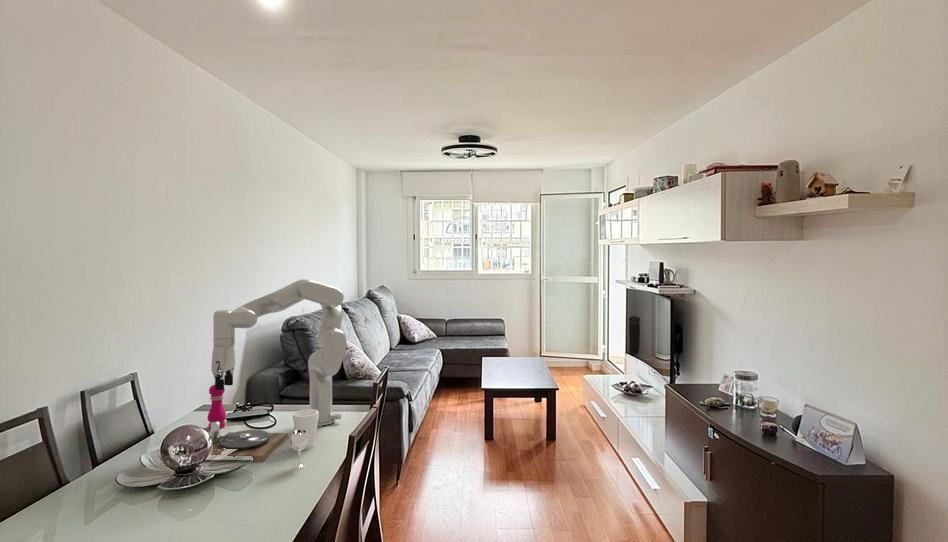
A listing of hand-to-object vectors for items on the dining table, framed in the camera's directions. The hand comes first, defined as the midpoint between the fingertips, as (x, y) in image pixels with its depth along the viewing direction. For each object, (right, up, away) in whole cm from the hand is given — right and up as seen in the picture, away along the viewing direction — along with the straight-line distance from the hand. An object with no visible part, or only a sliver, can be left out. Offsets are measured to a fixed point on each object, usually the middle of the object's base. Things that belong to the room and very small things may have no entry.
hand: (224, 386), depth 201 cm
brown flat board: (+11, -22, -7) cm, 25 cm away
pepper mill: (-12, -21, +18) cm, 30 cm away
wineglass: (+37, -23, -23) cm, 49 cm away
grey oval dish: (+9, -19, -7) cm, 22 cm away
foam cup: (+33, -22, -4) cm, 40 cm away
